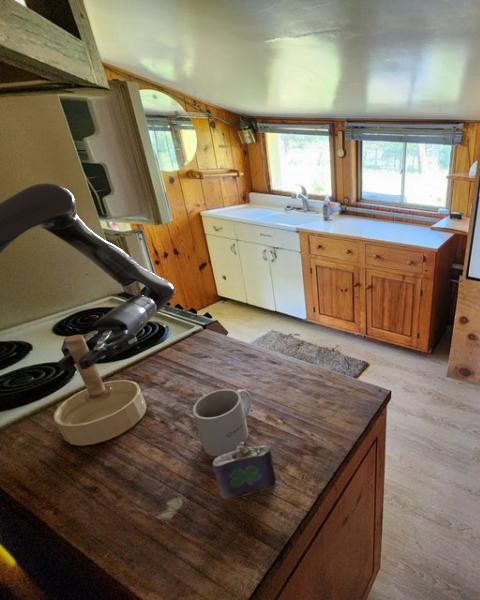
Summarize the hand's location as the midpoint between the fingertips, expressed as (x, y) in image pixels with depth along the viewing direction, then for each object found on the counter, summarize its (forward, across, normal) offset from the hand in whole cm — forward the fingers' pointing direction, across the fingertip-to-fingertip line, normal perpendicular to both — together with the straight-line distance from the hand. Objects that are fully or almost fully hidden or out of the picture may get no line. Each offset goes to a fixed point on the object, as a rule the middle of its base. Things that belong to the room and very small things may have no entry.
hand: (72, 366), depth 63 cm
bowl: (-3, 0, +17) cm, 18 cm away
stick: (-3, 0, +10) cm, 10 cm away
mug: (+5, +28, +17) cm, 33 cm away
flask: (+19, +34, +18) cm, 42 cm away
